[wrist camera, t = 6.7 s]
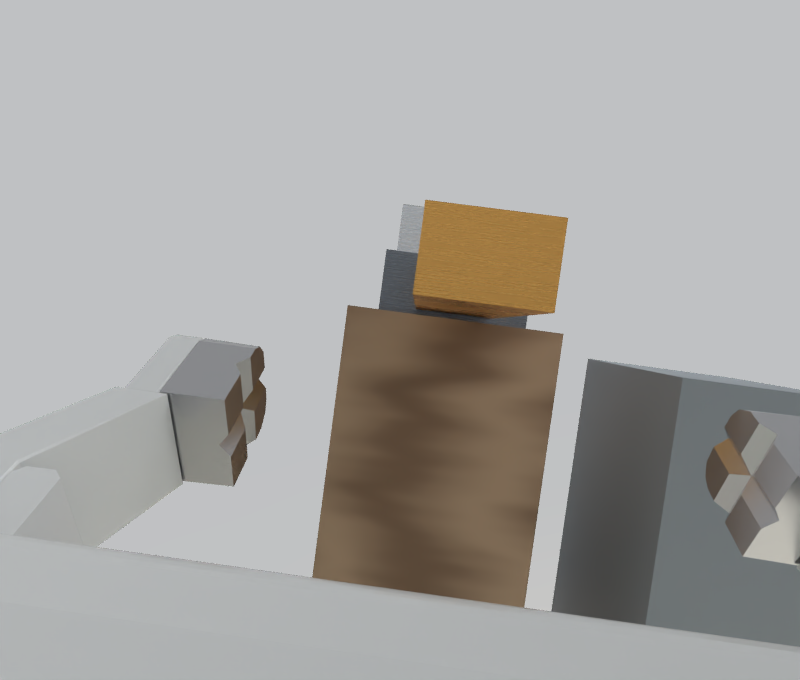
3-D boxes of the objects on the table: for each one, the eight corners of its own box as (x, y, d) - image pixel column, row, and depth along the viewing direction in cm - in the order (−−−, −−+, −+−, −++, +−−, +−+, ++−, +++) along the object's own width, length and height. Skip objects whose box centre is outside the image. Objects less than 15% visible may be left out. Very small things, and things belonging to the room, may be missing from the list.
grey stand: (667, 787, 31) (730, 377, 30) (802, 1040, 20) (907, 408, 19) (528, 766, 31) (588, 358, 31) (588, 1003, 20) (683, 377, 20)
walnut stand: (452, 753, 31) (511, 330, 31) (470, 983, 20) (563, 333, 20) (317, 732, 32) (373, 312, 31) (264, 947, 21) (348, 305, 20)
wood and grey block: (494, 328, 31) (505, 250, 31) (624, 334, 11) (656, 118, 11) (390, 314, 31) (400, 236, 31) (341, 296, 11) (369, 83, 11)
